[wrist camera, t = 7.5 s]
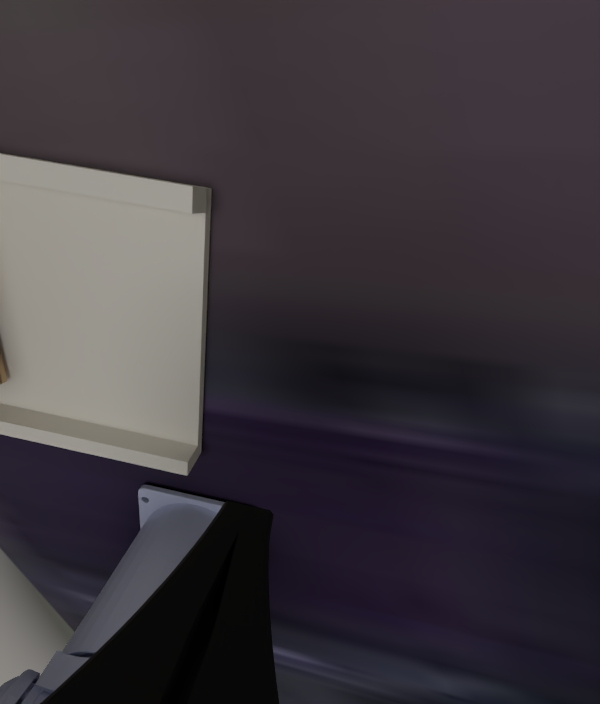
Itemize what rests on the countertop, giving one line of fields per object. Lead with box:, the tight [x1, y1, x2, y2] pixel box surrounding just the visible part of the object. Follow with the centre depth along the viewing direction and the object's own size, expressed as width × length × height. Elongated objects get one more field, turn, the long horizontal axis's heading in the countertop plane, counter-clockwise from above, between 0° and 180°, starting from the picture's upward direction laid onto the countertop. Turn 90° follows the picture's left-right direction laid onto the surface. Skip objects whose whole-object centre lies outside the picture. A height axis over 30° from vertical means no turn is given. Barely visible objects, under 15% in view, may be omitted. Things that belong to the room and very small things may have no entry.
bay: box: [0, 153, 212, 476], centre depth 18 cm, size 15×20×2 cm
